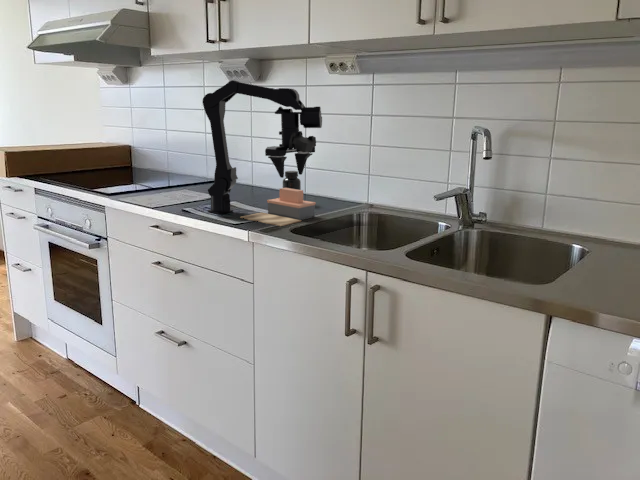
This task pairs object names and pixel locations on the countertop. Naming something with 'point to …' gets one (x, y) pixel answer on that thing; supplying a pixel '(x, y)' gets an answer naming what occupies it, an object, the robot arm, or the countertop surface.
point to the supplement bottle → (292, 180)
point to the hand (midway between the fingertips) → (291, 176)
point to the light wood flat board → (271, 219)
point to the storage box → (291, 211)
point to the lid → (291, 198)
